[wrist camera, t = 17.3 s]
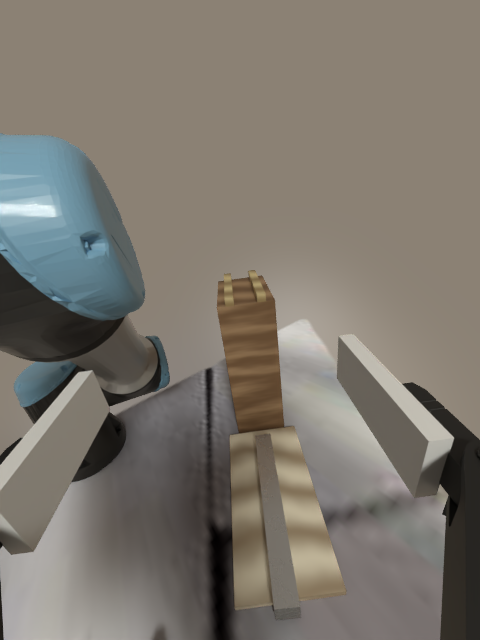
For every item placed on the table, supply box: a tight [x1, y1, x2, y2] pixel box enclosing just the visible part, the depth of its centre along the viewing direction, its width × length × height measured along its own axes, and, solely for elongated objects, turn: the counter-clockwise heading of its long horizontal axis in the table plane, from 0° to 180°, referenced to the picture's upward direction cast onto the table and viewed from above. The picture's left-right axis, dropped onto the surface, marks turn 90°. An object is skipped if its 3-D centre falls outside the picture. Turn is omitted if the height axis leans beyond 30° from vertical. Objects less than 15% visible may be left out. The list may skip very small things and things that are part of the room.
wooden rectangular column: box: [217, 270, 284, 433], centre depth 58 cm, size 16×10×32 cm, turn 4°
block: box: [255, 434, 301, 620], centre depth 41 cm, size 24×3×3 cm, turn 2°
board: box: [230, 426, 346, 610], centre depth 44 cm, size 26×14×1 cm, turn 4°
